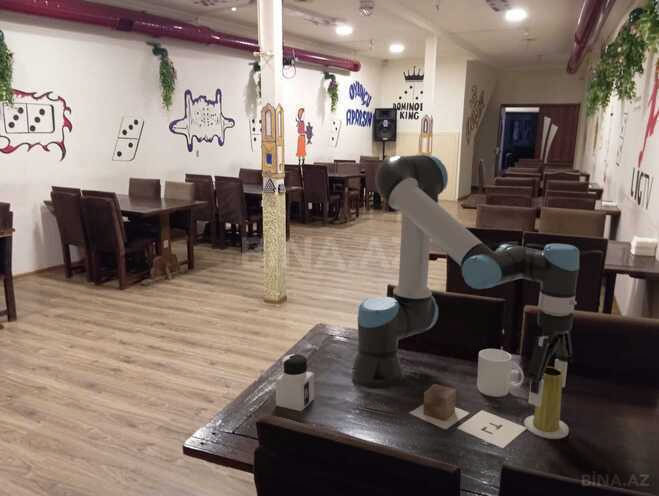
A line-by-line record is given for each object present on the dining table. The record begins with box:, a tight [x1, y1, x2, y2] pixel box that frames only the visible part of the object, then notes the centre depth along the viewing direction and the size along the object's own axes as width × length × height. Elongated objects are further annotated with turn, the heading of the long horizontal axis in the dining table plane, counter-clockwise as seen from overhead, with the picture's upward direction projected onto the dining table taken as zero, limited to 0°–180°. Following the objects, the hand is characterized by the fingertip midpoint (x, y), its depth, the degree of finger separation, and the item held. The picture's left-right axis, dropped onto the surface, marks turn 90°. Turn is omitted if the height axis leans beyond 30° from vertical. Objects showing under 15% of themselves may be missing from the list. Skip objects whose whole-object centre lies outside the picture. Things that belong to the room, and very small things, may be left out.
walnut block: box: [423, 383, 457, 421], centre depth 131 cm, size 6×6×6 cm
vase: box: [533, 366, 563, 432], centre depth 124 cm, size 6×6×14 cm
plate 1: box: [409, 403, 470, 430], centre depth 132 cm, size 11×11×1 cm
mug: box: [476, 348, 525, 398], centre depth 142 cm, size 9×12×11 cm
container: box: [275, 353, 315, 412], centre depth 137 cm, size 8×8×13 cm
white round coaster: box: [523, 414, 570, 440], centre depth 125 cm, size 10×10×1 cm
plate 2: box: [456, 410, 527, 449], centre depth 125 cm, size 12×12×1 cm
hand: (547, 394), depth 124 cm, fingers open, 13 cm apart
